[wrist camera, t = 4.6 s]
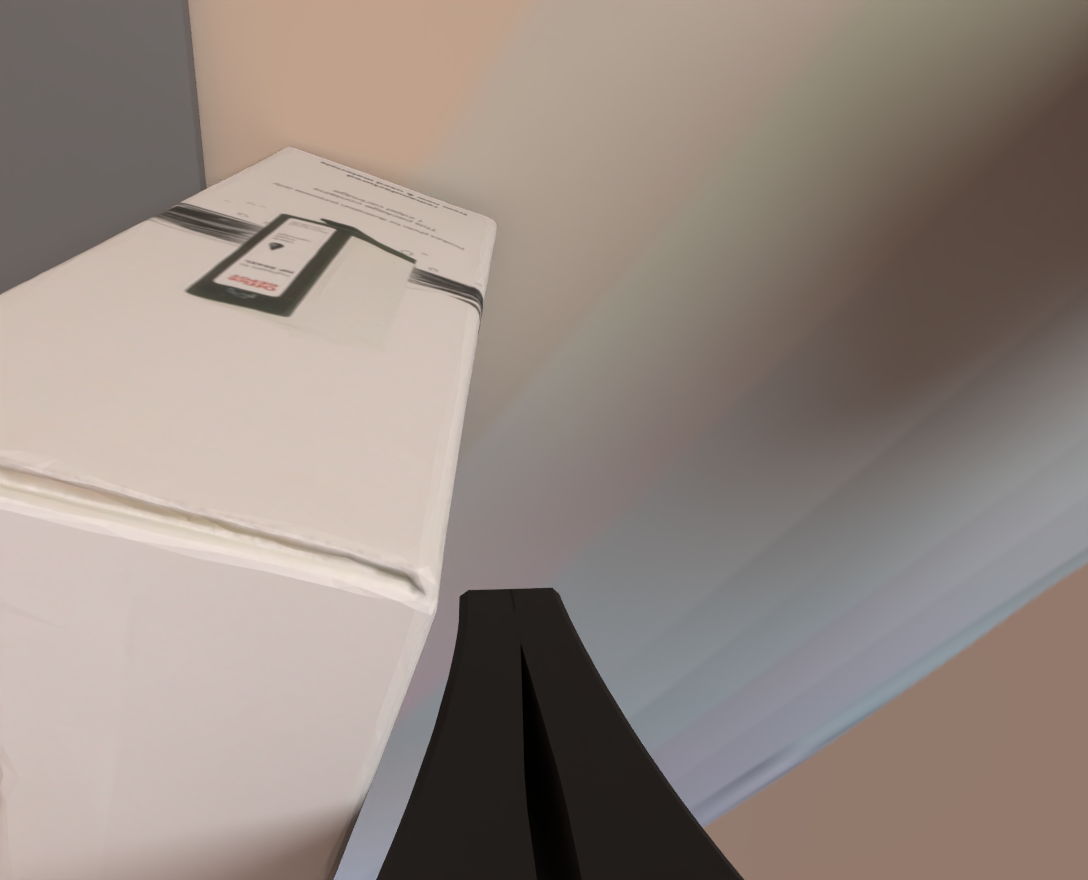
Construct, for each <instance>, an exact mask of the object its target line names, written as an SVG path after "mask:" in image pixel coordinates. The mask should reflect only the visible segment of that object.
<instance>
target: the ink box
mask: <svg viewBox="0 0 1088 880" xmlns="http://www.w3.org/2000/svg"><path fill="white" fill-rule="evenodd" d="M496 232H497V226H496V223H495V222H494V221H493V220H492V219H490V218H488V217H486V216H483V215H480V214H478V213H475V212H472V211H469V210H466V209H463V208H460V207H457V206H454V205H451V204H449V203H446V202H444V201H441V200H438V199H435V198H432V197H429V196H426V195H424V194H421V193H418V192H416V191H413V190H410V189H408V188H405V187H402V186H400V185H397V184H394V183H391V182H389V181H386V180H383V179H381V178H378V177H375V176H372V175H370V174H367V173H364V172H361V171H359V170H356V169H353V168H350V167H347V166H344V165H341V164H338V163H336V162H333V161H330V160H327V159H324V158H321V157H319V156H316V155H313V154H310V153H307V152H305V151H302V150H299V149H297V148H293V147H287V148H284V149H281V150H280V151H278V152H276V153H274V154H273V155H271V156H269V157H267V158H265V159H263V160H261V161H259V162H258V163H256V164H254V165H251V166H249V167H248V168H246V169H244V170H242V171H240V172H238V173H236V174H234V175H232V176H231V177H229V178H227V179H225V180H223V181H221V182H219V183H217V184H215V185H213V186H211V187H209V188H206V189H205V190H203V191H201V192H199V193H197V194H195V195H193V196H192V197H190V198H188V199H186V200H184V201H182V202H180V203H178V204H176V205H175V206H173V207H171V208H169V209H167V210H166V211H164V212H162V213H160V214H158V215H156V216H154V217H152V218H150V219H148V220H145V221H143V222H141V223H139V224H137V225H135V226H133V227H131V228H129V229H127V230H125V231H123V232H121V233H119V234H118V235H116V236H114V237H112V238H110V239H108V240H106V241H104V242H102V243H100V244H98V245H97V246H95V247H93V248H91V249H89V250H87V251H85V252H83V253H81V254H79V255H77V256H75V257H73V258H71V259H69V260H67V261H65V262H63V263H61V264H59V265H57V266H55V267H53V268H51V269H49V270H47V271H45V272H43V273H41V274H39V275H38V276H36V277H34V278H32V279H30V280H28V281H26V282H23V283H21V284H19V285H17V286H16V287H14V288H12V289H10V290H8V291H6V292H4V293H2V294H0V880H333V879H334V877H335V874H336V872H337V869H338V867H339V864H340V862H341V859H342V856H343V854H344V851H345V849H346V846H347V843H348V841H349V838H350V836H351V833H352V831H353V828H354V826H355V823H356V821H357V818H358V816H359V813H360V811H361V808H362V806H363V803H364V801H365V798H366V796H367V793H368V791H369V788H370V786H371V783H372V781H373V778H374V776H375V773H376V771H377V768H378V766H379V763H380V761H381V758H382V755H383V753H384V750H385V748H386V745H387V742H388V740H389V737H390V734H391V732H392V729H393V726H394V724H395V721H396V718H397V716H398V713H399V711H400V708H401V705H402V703H403V700H404V697H405V695H406V692H407V689H408V687H409V684H410V681H411V679H412V676H413V674H414V671H415V668H416V666H417V663H418V660H419V658H420V655H421V653H422V650H423V647H424V645H425V642H426V639H427V637H428V634H429V631H430V628H431V625H432V623H433V620H434V617H435V614H436V611H437V606H438V597H439V589H440V581H441V572H442V564H443V555H444V547H445V540H446V534H447V527H448V520H449V514H450V507H451V500H452V493H453V487H454V480H455V474H456V467H457V461H458V454H459V448H460V442H461V435H462V429H463V422H464V416H465V410H466V403H467V397H468V392H469V386H470V380H471V374H472V368H473V362H474V356H475V350H476V343H477V336H478V333H479V328H480V322H481V316H482V309H483V303H484V297H485V292H486V287H487V281H488V276H489V270H490V264H491V258H492V252H493V246H494V243H495V239H496Z"/></svg>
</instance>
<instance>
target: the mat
mask: <svg viewBox="0 0 1088 880" xmlns="http://www.w3.org/2000/svg"><path fill="white" fill-rule="evenodd" d="M205 189H206V180H205V170H204V159H203V149H202V139H201V129H200V119H199V109H198V98H197V88H196V78H195V68H194V58H193V48H192V37H191V27H190V17H189V7H188V0H0V294H2V293H4V292H6V291H8V290H10V289H12V288H14V287H16V286H17V285H19V284H21V283H23V282H26V281H28V280H30V279H32V278H34V277H36V276H38V275H39V274H41V273H43V272H45V271H47V270H49V269H51V268H53V267H55V266H57V265H59V264H61V263H63V262H65V261H67V260H69V259H71V258H73V257H75V256H77V255H79V254H81V253H83V252H85V251H87V250H89V249H91V248H93V247H95V246H97V245H98V244H100V243H102V242H104V241H106V240H108V239H110V238H112V237H114V236H116V235H118V234H119V233H121V232H123V231H125V230H127V229H129V228H131V227H133V226H135V225H137V224H139V223H141V222H143V221H145V220H148V219H150V218H152V217H154V216H156V215H158V214H160V213H162V212H164V211H166V210H167V209H169V208H171V207H173V206H175V205H176V204H178V203H180V202H182V201H184V200H186V199H188V198H190V197H192V196H193V195H195V194H197V193H199V192H201V191H203V190H205Z"/></svg>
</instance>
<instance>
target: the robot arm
mask: <svg viewBox="0 0 1088 880" xmlns="http://www.w3.org/2000/svg"><path fill="white" fill-rule="evenodd" d="M376 880H744V879H743V878H742V876H740V874H739V873H738V872H737V871H736V869H735V868H734V867H733V866H732V865H731V863H730V862H729V861H728V860H727V858H726V857H725V856H724V855H723V854H722V852H721V851H720V850H719V848H718V847H717V846H716V845H715V843H714V842H713V841H712V840H711V838H710V837H709V836H708V834H707V833H706V832H705V831H704V829H703V828H702V827H701V826H700V824H699V823H698V822H697V820H696V819H695V818H694V816H693V815H692V814H691V812H690V811H689V810H688V808H687V807H686V806H685V804H684V803H683V801H682V800H681V799H680V797H679V796H678V795H677V793H676V792H675V790H674V789H673V788H672V786H671V785H670V784H669V782H668V781H667V779H666V778H665V776H664V775H663V773H662V772H661V771H660V769H659V768H658V766H657V765H656V763H655V762H654V760H653V759H652V758H651V756H650V755H649V753H648V752H647V750H646V749H645V747H644V746H643V744H642V743H641V741H640V740H639V738H638V736H637V735H636V733H635V732H634V730H633V729H632V727H631V726H630V724H629V722H628V721H627V719H626V718H625V716H624V714H623V713H622V711H621V709H620V708H619V706H618V705H617V703H616V701H615V700H614V698H613V696H612V695H611V693H610V692H609V690H608V688H607V687H606V685H605V683H604V681H603V680H602V678H601V676H600V674H599V673H598V671H597V669H596V667H595V666H594V664H593V662H592V660H591V658H590V656H589V655H588V653H587V651H586V649H585V647H584V645H583V643H582V642H581V640H580V638H579V636H578V634H577V632H576V630H575V628H574V626H573V624H572V622H571V620H570V618H569V615H568V613H567V611H566V609H565V607H564V604H563V602H562V600H561V597H560V595H559V593H557V592H556V591H555V590H554V589H553V588H532V589H496V590H468V591H467V592H465V593H464V594H462V595H461V596H460V604H459V625H458V633H457V640H456V645H455V650H454V655H453V660H452V664H451V669H450V673H449V677H448V681H447V685H446V688H445V692H444V695H443V699H442V702H441V706H440V709H439V713H438V717H437V720H436V724H435V727H434V730H433V733H432V736H431V739H430V742H429V745H428V748H427V751H426V754H425V757H424V759H423V762H422V765H421V768H420V771H419V774H418V776H417V779H416V782H415V785H414V788H413V791H412V793H411V796H410V799H409V801H408V804H407V807H406V809H405V812H404V814H403V817H402V819H401V822H400V824H399V827H398V829H397V832H396V834H395V837H394V839H393V842H392V844H391V847H390V849H389V851H388V854H387V856H386V858H385V861H384V863H383V865H382V868H381V870H380V872H379V875H378V877H377V879H376Z"/></svg>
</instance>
